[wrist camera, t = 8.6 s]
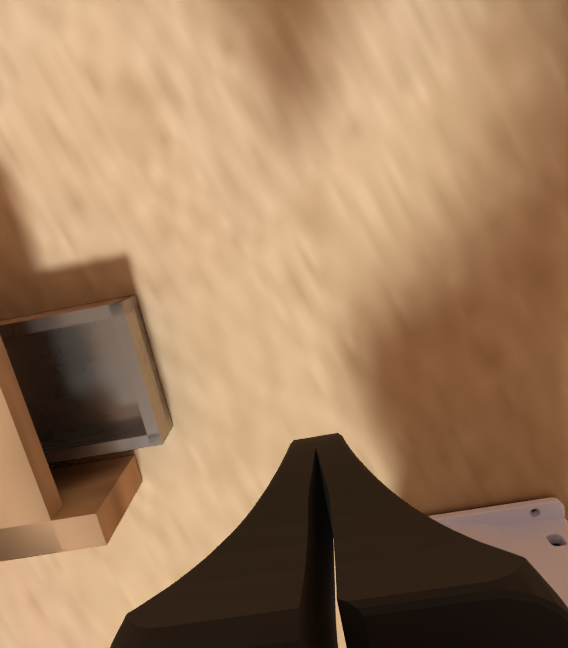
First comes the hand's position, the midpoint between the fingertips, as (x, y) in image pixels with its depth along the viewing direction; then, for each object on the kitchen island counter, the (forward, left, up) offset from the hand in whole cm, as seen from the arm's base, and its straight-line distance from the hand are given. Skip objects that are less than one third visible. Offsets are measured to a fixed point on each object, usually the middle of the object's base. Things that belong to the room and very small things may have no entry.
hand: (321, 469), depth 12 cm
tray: (+13, -1, -10) cm, 16 cm away
